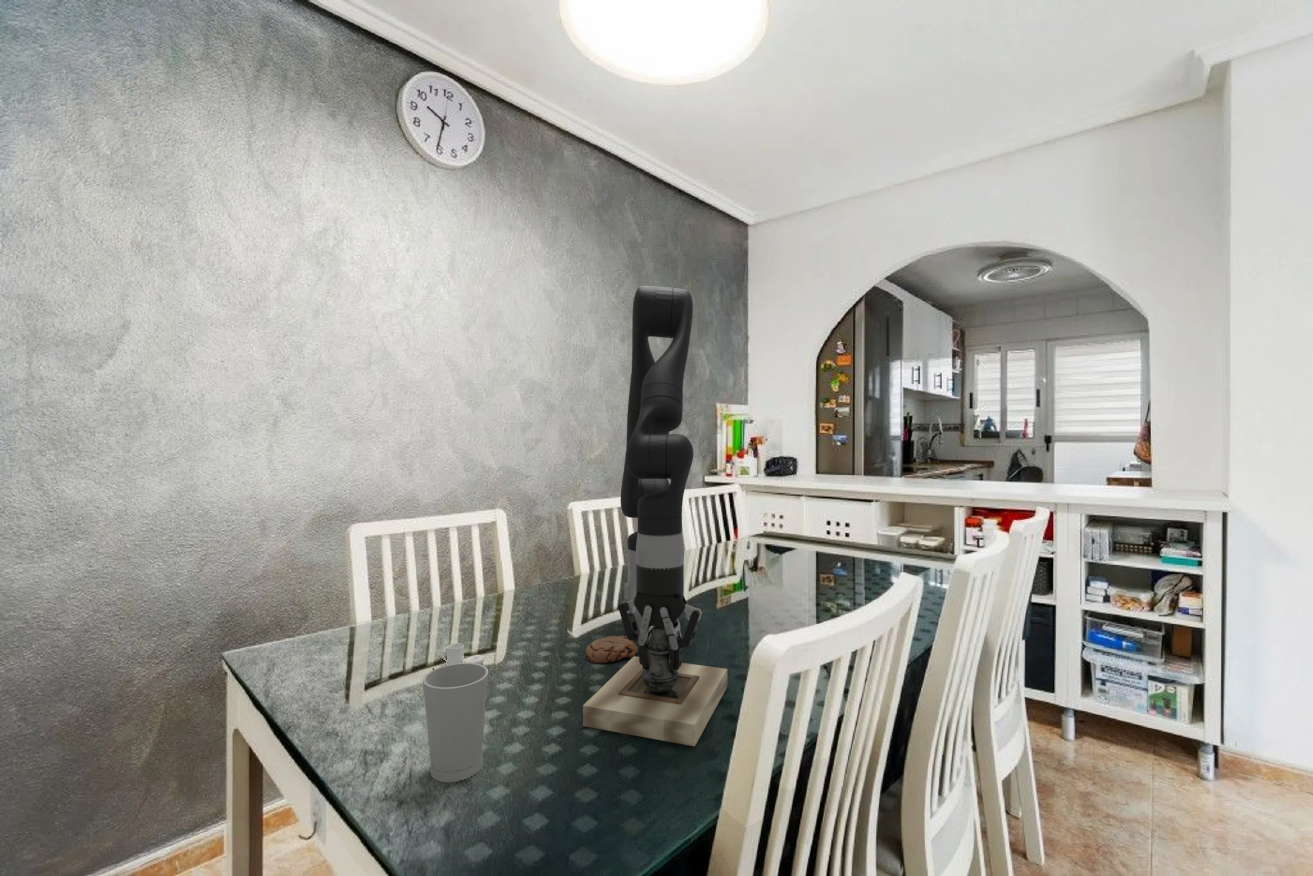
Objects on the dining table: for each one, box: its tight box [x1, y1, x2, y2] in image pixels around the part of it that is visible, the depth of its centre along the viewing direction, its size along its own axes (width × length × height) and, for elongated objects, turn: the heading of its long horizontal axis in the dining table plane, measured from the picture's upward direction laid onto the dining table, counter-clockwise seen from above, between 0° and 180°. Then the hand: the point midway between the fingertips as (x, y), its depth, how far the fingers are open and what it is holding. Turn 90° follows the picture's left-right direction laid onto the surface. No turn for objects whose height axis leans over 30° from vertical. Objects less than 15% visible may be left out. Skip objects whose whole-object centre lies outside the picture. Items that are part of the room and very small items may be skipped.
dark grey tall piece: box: [641, 625, 679, 699], centre depth 93 cm, size 6×6×12 cm
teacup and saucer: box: [440, 642, 485, 665], centre depth 109 cm, size 9×8×4 cm
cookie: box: [585, 635, 639, 664], centre depth 114 cm, size 10×11×3 cm
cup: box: [422, 662, 489, 783], centre depth 76 cm, size 8×8×12 cm
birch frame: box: [582, 655, 728, 747], centre depth 93 cm, size 17×20×3 cm
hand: (660, 668), depth 93 cm, fingers closed on dark grey tall piece, 4 cm apart
